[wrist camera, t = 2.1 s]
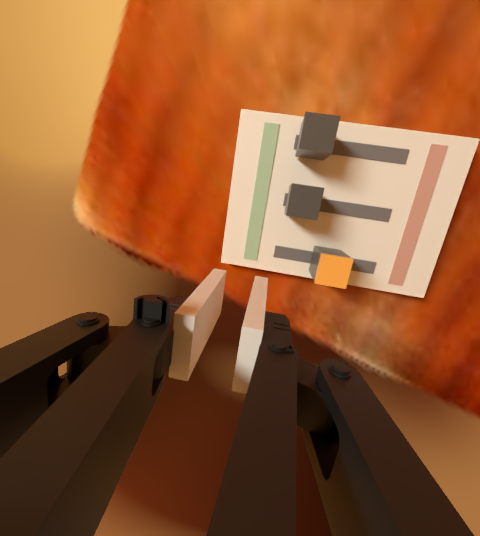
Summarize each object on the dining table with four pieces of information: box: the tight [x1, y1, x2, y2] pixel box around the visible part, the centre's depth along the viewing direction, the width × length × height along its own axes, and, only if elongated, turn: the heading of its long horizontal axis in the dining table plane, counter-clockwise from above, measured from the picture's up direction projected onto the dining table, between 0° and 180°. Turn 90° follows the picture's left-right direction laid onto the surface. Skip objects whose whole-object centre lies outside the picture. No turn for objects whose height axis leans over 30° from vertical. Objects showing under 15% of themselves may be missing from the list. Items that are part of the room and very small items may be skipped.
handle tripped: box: [309, 245, 354, 289], centre depth 28 cm, size 3×3×5 cm
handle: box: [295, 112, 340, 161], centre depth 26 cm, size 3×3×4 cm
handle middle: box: [284, 183, 324, 220], centre depth 27 cm, size 3×3×4 cm
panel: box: [221, 109, 480, 298], centre depth 30 cm, size 24×17×2 cm
